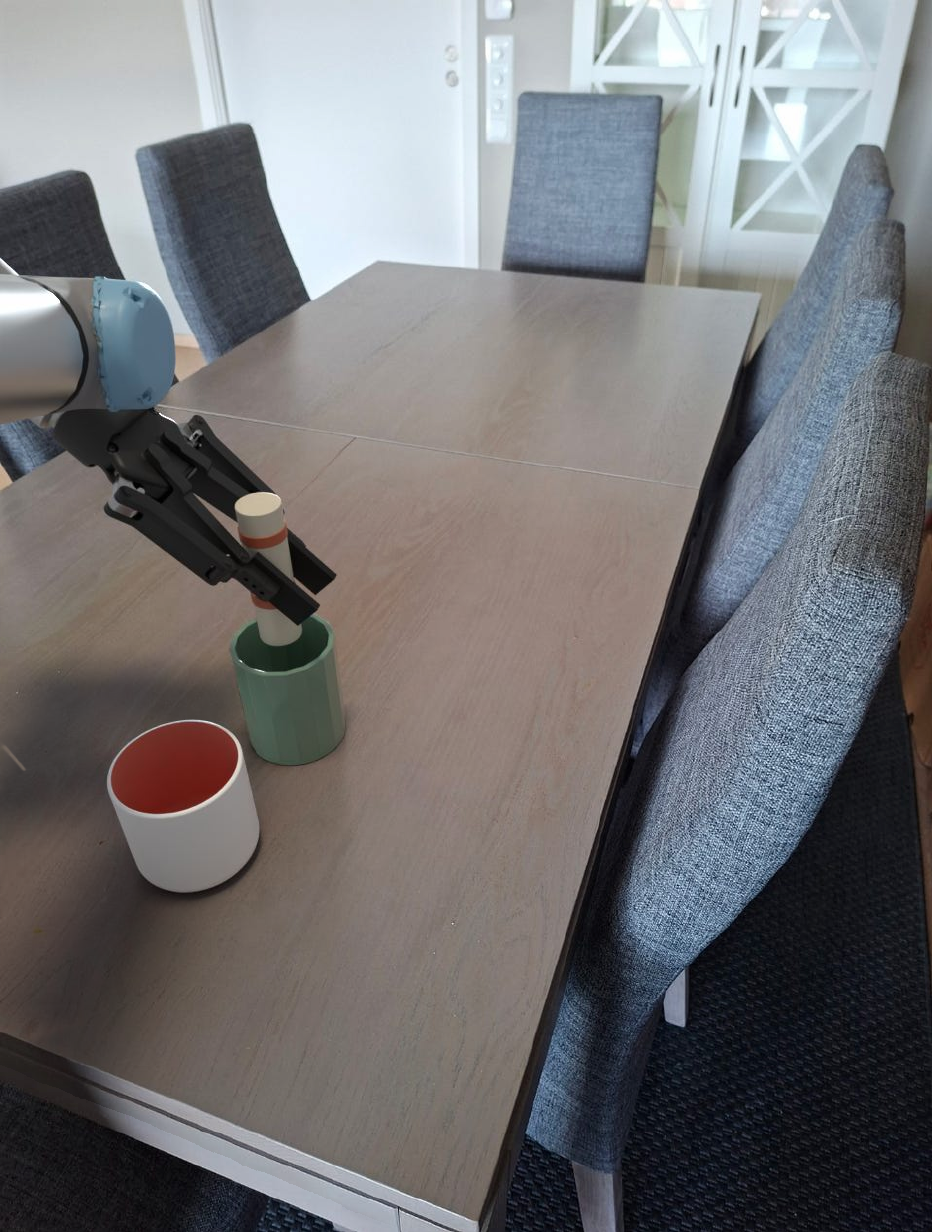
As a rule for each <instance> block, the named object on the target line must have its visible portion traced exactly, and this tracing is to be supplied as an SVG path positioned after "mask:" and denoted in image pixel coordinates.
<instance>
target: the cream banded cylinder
mask: <svg viewBox="0 0 932 1232" xmlns="http://www.w3.org/2000/svg"><path fill="white" fill-rule="evenodd" d="M277 495H278V494H277ZM277 495H275V494H272V493H266V492H259V493H252V494H249V495H246V496H244V497H242V498H240V499H239V500H238V501H237V502H236V504H235V512H236V517H237V522H238V523H237V522H236V523H237V533H238V538H239V541H240V544H241V546H242V547H243V548H244V549H245V550H246V551H247V552H248V553H249V555H250V557H251V558H252V557H253V556H254V555H255V554H256V553H257V552H259V553H260V554H262V555H263V556H264V557H265V558H266V559H267V560H269V561H270V562H271V563H272V564H273V565H274V566H276V567H277V568H278V569H279V570H280V571H281V572H283V573H284V574H285V575H286V576H287V577H288V578H290V579H291V580H292V581H293V582H294V583H295V584H297V582H296V580H295V578H294V576H293V570H292V564H291V558H290V551H289V545H288V539H287V535H288V531H287V528H288V525H287V521H286V519H285V514H283V509H284V507H283V502H282V499H281V497H280V496H279V495H278V496H279V497H280V498H279V497H278V496H277ZM249 593H250V598H251V602H252V604H253V607H254V612H255V618H257V623H258V628H259V633H260V637H261V639H262V641H263V642H265V643H266V644H268V645H272V646H283V645H287V644H290V643H292V642H294V641H296V640H297V639H298V638H299V637H300V635H301V633H302V627H301V624H300V625H299V626H297V625H296V624H295V623H293V622H292V621H291V620H290V619H289V618H287V617H286V616H285V615H284V614H283V613H281V612H280V611H279V610H278V609H277V608H276V607H274V606H273V605H272V604H271V603H270V602H268V601H267V602H264V601H262V600H260V599H259V598H257V597H256V596H255V595H254V594H253V593H251V591H249Z"/></svg>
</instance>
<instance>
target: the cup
mask: <svg viewBox="0 0 932 1232" xmlns="http://www.w3.org/2000/svg"><path fill="white" fill-rule="evenodd" d="M241 745H242V744H241V742H240V741H239V740H238V738H237V737H236V735H235V734H234V733H232V732H231V730H229V729H228V728H226V727H224V726H222V725H220V724H217V723H214V722H211V721H206V720H201V719H185V720H184V719H183V720H177V721H172V722H168V723H163V724H160V725H157V726H155V727H153V728H150V729H148V730H146V731H144V732H142V733H141V734H139V735H138V736H137V737H135V738H133V739H131V741H129V742H127V744H126V745H125V746H124V747H122V749H121V750H120V751H119V752H118V753H117V755H115V757H114V759H113V760H112V763H111V764H110V767H109V770H108V773H107V777H106V788H107V793H108V795H109V798H110V801H111V803H112V805H113V809H114V811H115V813H116V816H117V818H118V821H119V824H120V827H121V830H122V831H123V834H124V836H125V840H126V842H127V844H128V847H129V849H130V853H131V855H132V858H133V860H134V863H135V865H136V867H137V869H138V871H139V872H140V874H141V875H142V876H143V878H144V879H146V880H147V881H148V882H149V883H150V884H152V885H154V886H155V887H158V888H159V889H162V890H165V891H168V892H172V893H173V892H175V893H194V892H201V891H204V890H209V889H211V888H214V887H216V886H219V885H221V884H223V883H225V882H226V881H228V880H229V879H231V878H232V877H234V876H235V875H236V874H237V873H239V872H240V871H241V870H242V869H243V868H244V866H245V865H246V864H247V863H248V862H249V860H250V859H251V857H252V856H253V854H254V852H255V850H256V848H257V845H258V842H259V837H260V820H259V816H258V811H257V808H256V803H255V800H254V795H253V791H252V786H251V783H250V778H249V773H248V769H247V765H246V761H245V756H244V752H243V748H242V746H241Z"/></svg>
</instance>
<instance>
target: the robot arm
mask: <svg viewBox="0 0 932 1232" xmlns="http://www.w3.org/2000/svg"><path fill="white" fill-rule="evenodd" d="M176 357H177V356H176V342H175V334H174V327H173V324H172V320H171V317H170V314H169V311H168V309H167V306H166V305H165V303H164V301H163V299H162V298H161V297H160V295H159V294H158V293H157V292H156V291H155V290H154V289H153V288H152V287H151V286H150V285H148V284H146V283H145V282H144V283H143V282H141V281H139V280H129V279H128V280H127V279H115V278H107V277H105V276H97V275H96V276H94V277H68V276H67V277H65V276H41V275H22V274H21V275H19V273H17V272H16V270H14V269H13V268H12V267H11V266H9V265H8V264H7V262H5V261H4V259H2V258H1V257H0V425H5V424H9V423H14V422H19V421H24V420H27V419H28V420H29V421H31V422H32V423H33V424H35V425H36V426H37V427H38V428H39V429H49V428H53V429H52V431H51V436H52V437H53V438H52V440H53V441H54V442H55V443H57V444H58V445H59V446H60V447H61V448H62V449H64V450H65V451H66V452H68V454H70V455H71V456H72V457H73V458H75V459H76V460H77V461H78V462H79V463H81V464H82V465H83V466H85V467H86V468H95V467H99V468H100V469H101V470H102V472H103V473H104V475H105V476H106V478H107V480H108V482H109V483H111V484H112V485H113V487H112V492H111V497H110V498H109V499H108V500H107V502H106V503H105V504H104V505H103V511H104V514H105V515H106V516H108V517H110V518H112V519H114V520H117V521H119V522H121V523H123V524H126V525H128V526H131V527H132V528H134V529H135V530H136V531H138V532H139V533H140V534H142V535H143V536H144V537H145V538H146V539H148V540H150V542H153V544H155V545H156V546H158V547H159V548H160V549H161V550H163V551H164V552H165V553H167V554H168V555H169V556H171V557H172V558H174V559H175V560H176V561H177V562H179V564H181V565H183V566H184V567H185V568H186V569H187V570H189V571H190V572H191V573H192V574H194V575H196V576H197V577H199V578H200V579H201V580H202V581H204V582H205V583H206V584H208V585H210V586H212V587H214V586H217V585H219V583H223V584H226V583H228V582H230V580H231V579H234V580H236V581H237V582H238V583H239V584H240V585H242V586H243V587H244V588H245V589H247V590H248V591H249V592H250V591H251V593H253V594H254V595H255V596H256V597H257V598H259V599H260V600H262V601H264V602H267V601H268V602H270V603H271V604H272V605H273V606H274V607H276V608H277V609H278V610H279V611H280V612H281V613H283V614H284V615H285V616H286V617H287V618H289V619H290V620H291V621H292V622H293V623H295V624H296V625H297V626H299V625H300V624H301V623H302V622H304V621H305V620H306V619H307V618H308V617H310V616H311V615H312V614H316V612H318V610H319V608H320V606H321V603H319V602H318V601H316V600H315V599H314V598H313V596H311V595H310V594H308V593H307V592H306V591H305V590H304V589H303V588H301V586H299V585H298V584H297V583H296V584H295V583H294V582H293V581H292V580H291V579H290V578H288V577H287V576H286V575H285V574H284V573H283V572H281V571H280V570H279V569H278V568H277V567H276V566H274V565H273V564H272V563H271V562H270V561H269V560H267V559H266V558H265V557H264V556H263V555H262V554H260V553H259V552H257V553H256V554H255V555H254V556H253V557H252V558H251V557H250V555H249V553H248V552H247V551H246V550H245V549H244V548H243V547H242V544H241V542H239V541H238V540H237V539H236V538H235V537H234V536H233V535H232V533H231V532H229V531H228V529H227V528H226V527H225V526H224V525H223V523H221V521H220V520H218V518H217V517H215V515H214V514H213V513H212V512H211V511H210V509H209V508H207V506H205V504H204V503H203V502H202V501H205V502H206V503H207V504H209V505H210V506H211V507H213V508H215V509H216V510H218V511H219V512H221V513H222V514H224V515H225V516H227V517H228V518H230V519H231V520H232V521H234V522H236V523H237V524H238V522H237V517H236V512H235V504H236V502H237V501H238V500H239V499H240V498H242V497H244V496H246V495H249V494H252V493H259V492H266V493H272V494H275V495H277V496H278V497H279V498H280V499H281V497H280V496H279V495H278V493H276V492H275V491H274V490H273V489H272V488H271V487H270V486H269V485H268V484H267V483H265V481H263V480H262V478H260V477H259V476H258V475H257V474H256V473H255V472H254V471H253V470H252V469H251V468H250V467H249V466H248V465H247V464H246V463H245V462H243V461H242V460H241V459H240V458H239V456H237V455H236V454H235V453H234V452H233V451H232V450H231V449H230V448H229V447H228V446H227V445H226V444H225V443H224V442H223V441H221V440H220V439H219V438H218V437H217V436H216V434H215V433H214V431H213V429H212V428H211V426H210V425H209V424H208V422H207V420H206V419H205V418H204V417H203V416H201V415H200V414H194V415H193V416H192V417H191V418H190V419H189V420H188V422H182V423H177V422H176V421H175V420H173V419H171V418H170V417H168V416H165V415H163V414H161V413H160V412H159V411H157V409H156V408H155V407H157V406H158V405H160V404H161V403H162V402H163V401H164V399H166V397H167V395H168V394H169V391H170V389H171V387H172V385H173V381H174V377H175V371H176V362H177V361H176V359H177V358H176ZM199 498H200V499H201V500H202V501H201V500H200V499H199ZM285 513H286V512H285V509H284V508H283V514H284V515H285ZM287 531H288V535H287V539H288V545H289V551H290V558H291V564H292V570H293V576H294V580H296V581H298V582H299V583H300V584H301V585H302V586H304V587H305V588H306V589H307V590H308V591H309V592H311V594H312V595H314V596H316V595H318V594H319V593H320V592H321V591H323V590H324V589H325V588H326V587H328V586H329V585H330V584H332V582H334V581H335V579H336V578H337V575H338V574H337V573H336V572H335V571H334V570H333V569H331V568H330V567H329V566H328V565H327V564H326V563H325V562H323V561H322V560H321V559H320V558H319V557H318V556H316V555H315V554H314V553H313V552H312V551H311V550H309V548H307V545H306V544H305V543H304V541H303V540H302V539H301V538H300V537H299V536H298V535H296V534H295V533H294V531H292V530H290V528H289V527H287Z"/></svg>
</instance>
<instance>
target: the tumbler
mask: <svg viewBox="0 0 932 1232" xmlns="http://www.w3.org/2000/svg"><path fill="white" fill-rule="evenodd" d="M301 627H302V633H301V635H300V637H299V638H298V639H297V640H296V641H294V642H292V643H290V644H287V645H283V646H272V645H268V644H266V643H265V642H263V641H262V639H261V637H260V633H259V628H258V623H257V618H256V617H254V618H253V619H251V620H249V621H248V622H245V623H244V624H243V625H242V626H241V627H240V628H239V629H238V630H237V631H236V632H235V633H234V634H233V635H232V638H231V641H230V644H229V647H228V651H229V656H230V660H231V664H232V669H233V673H234V678H235V682H236V687H237V691H238V695H239V700H240V704H241V708H242V713H243V717H244V722H245V726H246V730H247V735H248V737H249V740H250V745H251V747H252V749H253V750H254V752H255V753H256V754H257V755H258V756H259V757H261V758H262V759H263V760H265V761H267V762H269V763H272V764H276V765H280V766H301V765H306V764H310V763H312V762H315V761H318V760H320V759H322V758H324V757H326V756H327V755H329V754H330V753H331V752H333V751H334V750H335V749H336V748H337V747H338V745H339V744H340V743H341V742H342V740H343V738H344V736H345V732H346V713H345V712H346V711H345V704H344V696H343V689H342V681H341V672H340V663H339V658H338V651H337V650H338V649H337V642H336V635H335V631H334V630H333V627H332V626H331V624H330V622H329V621H327V620H326V619H324V618H323V617H321V616H320V615H318V614H316V613H313V614H312V615H311V616H310V617H308V618H307V619H306V620H305V621H304V622H302V623H301Z"/></svg>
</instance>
